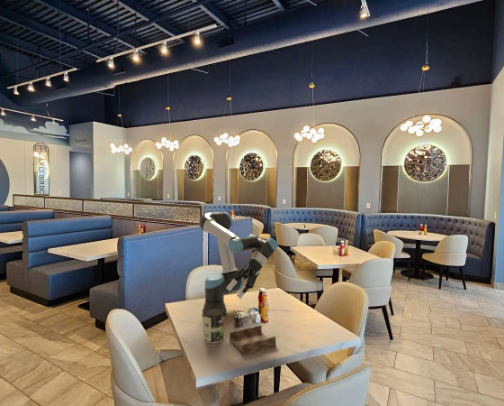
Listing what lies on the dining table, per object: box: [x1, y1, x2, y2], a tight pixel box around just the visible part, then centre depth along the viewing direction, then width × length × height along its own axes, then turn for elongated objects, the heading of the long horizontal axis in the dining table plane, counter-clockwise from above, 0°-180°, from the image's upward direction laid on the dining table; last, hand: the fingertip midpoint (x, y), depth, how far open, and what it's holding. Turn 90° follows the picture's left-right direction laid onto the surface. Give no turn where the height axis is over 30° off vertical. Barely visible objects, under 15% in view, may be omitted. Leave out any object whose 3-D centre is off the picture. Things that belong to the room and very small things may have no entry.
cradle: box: [229, 324, 277, 356], centre depth 149 cm, size 18×15×4 cm
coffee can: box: [203, 308, 225, 344], centre depth 153 cm, size 10×10×14 cm
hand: (232, 293), depth 157 cm, fingers open, 13 cm apart
